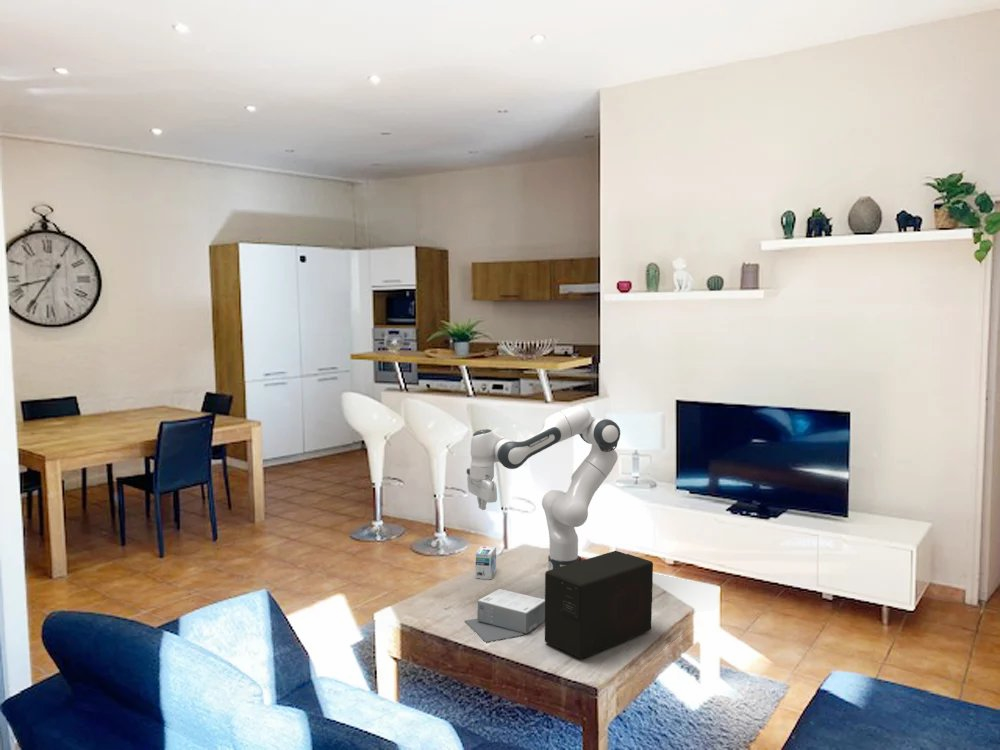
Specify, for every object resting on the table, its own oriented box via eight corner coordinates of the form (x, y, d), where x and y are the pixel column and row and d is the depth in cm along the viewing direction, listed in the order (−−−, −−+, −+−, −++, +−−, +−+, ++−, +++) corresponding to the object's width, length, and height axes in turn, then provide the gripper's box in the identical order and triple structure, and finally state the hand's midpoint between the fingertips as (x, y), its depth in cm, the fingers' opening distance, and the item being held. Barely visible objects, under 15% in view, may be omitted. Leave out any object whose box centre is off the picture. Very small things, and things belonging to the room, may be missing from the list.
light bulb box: (491, 580, 314) (491, 554, 314) (475, 579, 316) (475, 553, 315) (496, 571, 325) (496, 546, 324) (481, 570, 326) (481, 545, 325)
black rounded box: (613, 613, 280) (614, 546, 278) (655, 631, 265) (657, 560, 263) (537, 642, 256) (538, 569, 254) (579, 662, 241) (580, 585, 239)
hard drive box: (476, 621, 271) (525, 634, 261) (476, 600, 271) (526, 612, 260) (499, 607, 285) (547, 620, 274) (499, 587, 284) (547, 599, 274)
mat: (500, 615, 278) (500, 614, 278) (523, 635, 261) (523, 634, 261) (464, 621, 272) (464, 620, 272) (485, 642, 255) (485, 641, 255)
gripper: (501, 477, 281) (501, 514, 282) (479, 467, 300) (479, 502, 301) (485, 479, 279) (485, 516, 280) (464, 468, 297) (464, 503, 298)
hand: (482, 508), depth 291 cm, fingers closed
